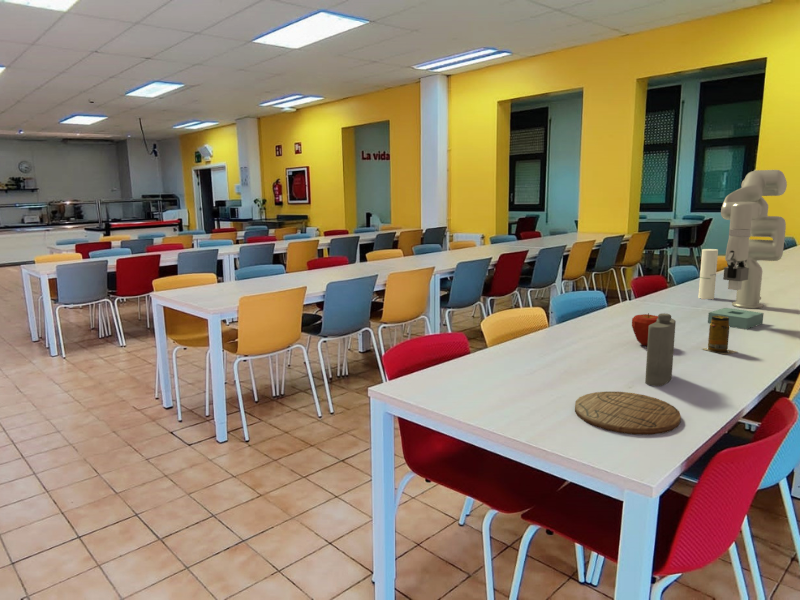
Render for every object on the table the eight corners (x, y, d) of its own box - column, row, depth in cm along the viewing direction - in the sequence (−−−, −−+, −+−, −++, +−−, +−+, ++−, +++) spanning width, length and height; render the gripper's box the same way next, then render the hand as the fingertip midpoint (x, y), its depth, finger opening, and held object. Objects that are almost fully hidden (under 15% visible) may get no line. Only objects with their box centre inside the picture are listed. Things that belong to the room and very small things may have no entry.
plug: (730, 287, 238) (732, 266, 236) (746, 289, 233) (748, 267, 231) (722, 289, 234) (724, 267, 232) (739, 291, 229) (741, 269, 227)
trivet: (660, 445, 126) (661, 437, 126) (557, 418, 143) (557, 411, 142) (693, 412, 144) (693, 405, 144) (598, 391, 161) (598, 385, 161)
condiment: (715, 346, 202) (717, 314, 200) (737, 352, 195) (741, 318, 192) (701, 349, 199) (704, 316, 197) (724, 355, 191) (727, 320, 189)
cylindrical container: (716, 299, 285) (721, 250, 280) (702, 299, 285) (706, 250, 281) (709, 296, 292) (713, 248, 288) (695, 297, 292) (699, 249, 288)
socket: (724, 317, 245) (725, 307, 245) (762, 323, 234) (763, 313, 233) (707, 322, 237) (708, 312, 236) (746, 329, 225) (747, 318, 224)
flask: (664, 388, 161) (669, 320, 158) (643, 384, 165) (647, 318, 161) (675, 374, 173) (679, 310, 170) (655, 371, 177) (659, 308, 173)
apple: (631, 347, 203) (632, 315, 200) (630, 340, 213) (631, 309, 210) (664, 350, 199) (667, 316, 197) (662, 342, 209) (664, 310, 207)
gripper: (740, 231, 237) (736, 273, 240) (719, 234, 227) (715, 278, 231) (759, 232, 231) (755, 275, 234) (739, 235, 221) (735, 280, 225)
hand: (735, 276), depth 232 cm, fingers closed on plug, 6 cm apart
